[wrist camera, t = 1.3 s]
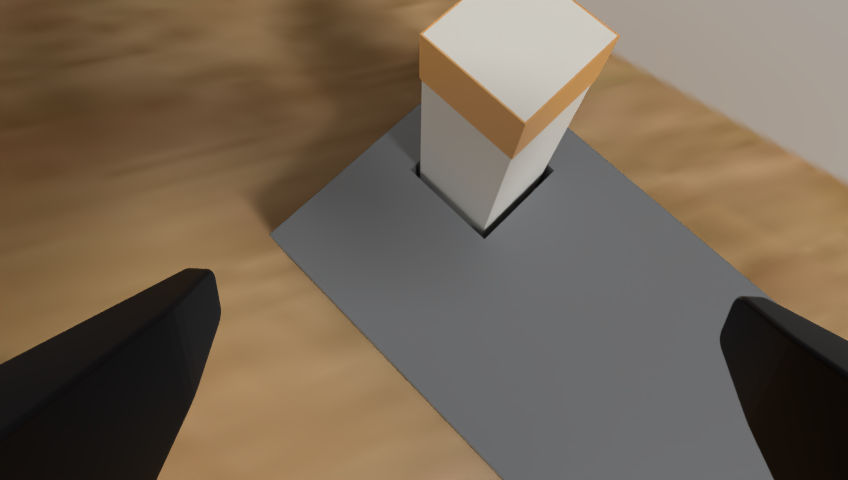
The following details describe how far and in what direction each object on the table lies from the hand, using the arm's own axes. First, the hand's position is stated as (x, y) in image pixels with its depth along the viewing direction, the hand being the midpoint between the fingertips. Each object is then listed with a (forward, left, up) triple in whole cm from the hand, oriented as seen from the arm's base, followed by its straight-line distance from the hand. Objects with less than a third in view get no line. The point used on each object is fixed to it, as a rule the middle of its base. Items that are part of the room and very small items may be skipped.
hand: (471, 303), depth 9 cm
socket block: (-2, -5, -14) cm, 15 cm away
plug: (+4, -7, -14) cm, 16 cm away
